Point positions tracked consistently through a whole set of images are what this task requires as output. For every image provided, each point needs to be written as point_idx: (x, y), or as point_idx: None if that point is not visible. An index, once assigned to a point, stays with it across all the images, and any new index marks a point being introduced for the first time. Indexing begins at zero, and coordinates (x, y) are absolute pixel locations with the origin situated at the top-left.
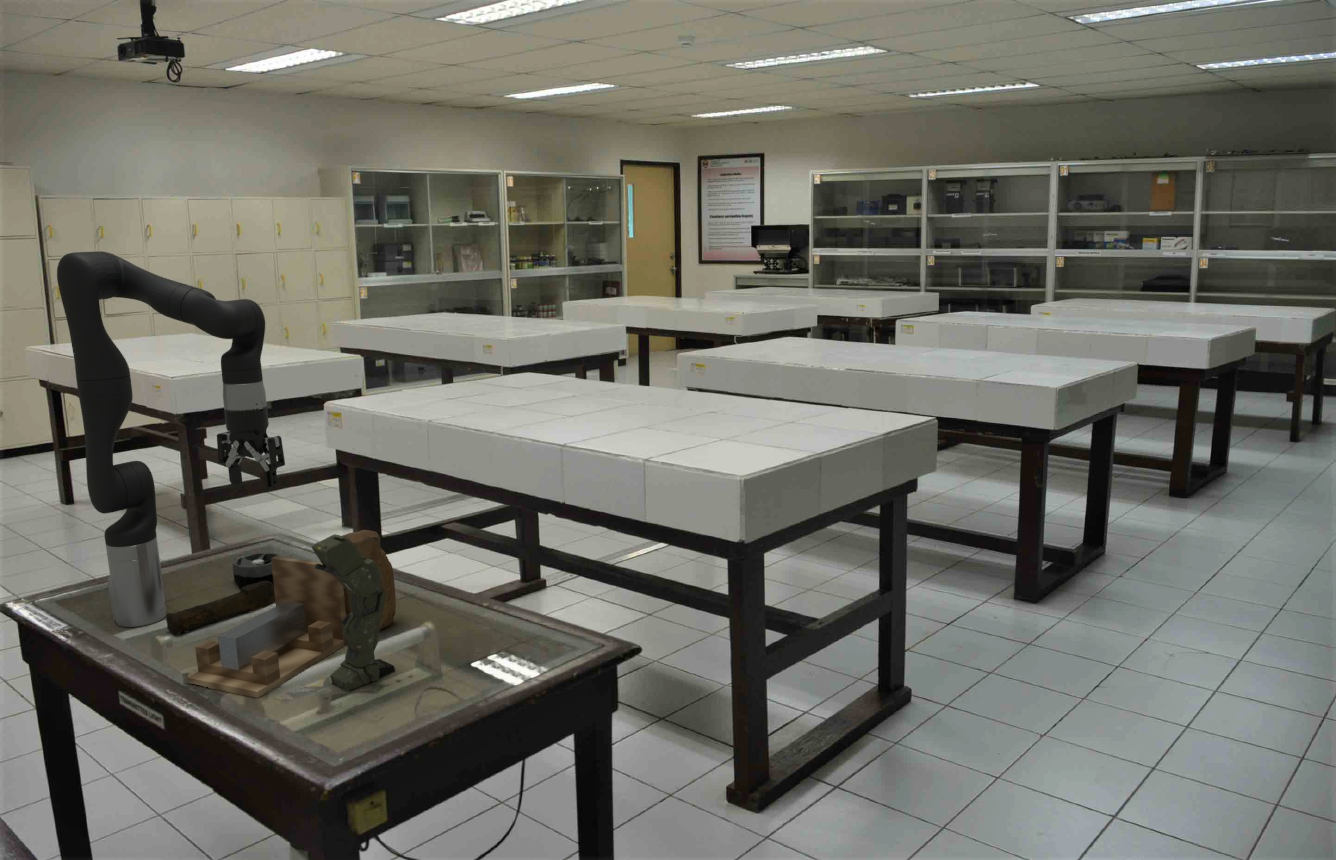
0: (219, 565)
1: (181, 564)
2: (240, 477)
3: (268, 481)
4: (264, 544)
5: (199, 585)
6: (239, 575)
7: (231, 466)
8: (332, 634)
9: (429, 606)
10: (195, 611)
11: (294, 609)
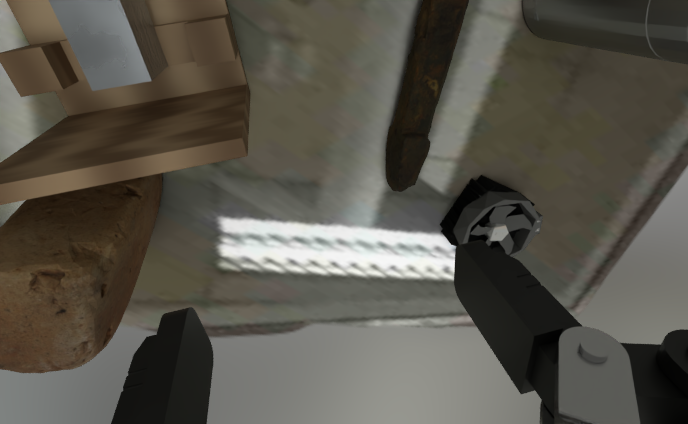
0: (586, 217)
1: (647, 189)
2: (475, 314)
3: (152, 364)
4: (571, 292)
5: (564, 152)
6: (500, 191)
7: (556, 348)
8: (95, 113)
9: (133, 295)
10: (435, 14)
11: (75, 52)
